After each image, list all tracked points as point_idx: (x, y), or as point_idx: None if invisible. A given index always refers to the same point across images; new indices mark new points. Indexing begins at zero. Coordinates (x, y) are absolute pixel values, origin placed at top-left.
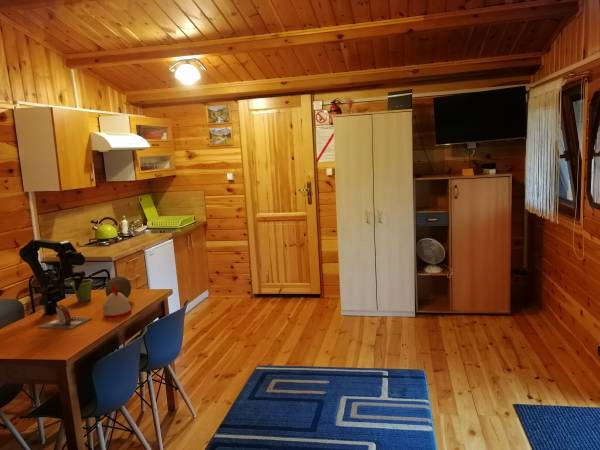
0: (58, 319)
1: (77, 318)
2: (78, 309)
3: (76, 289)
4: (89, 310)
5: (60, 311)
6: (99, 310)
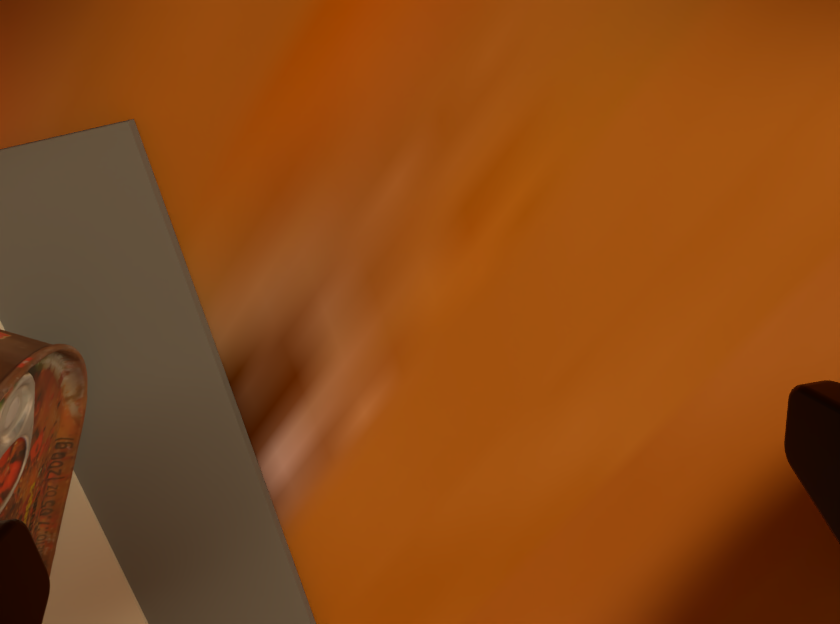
0: (34, 243)
1: (241, 523)
2: (660, 6)
3: (829, 467)
4: (646, 305)
5: None
6: (674, 468)
